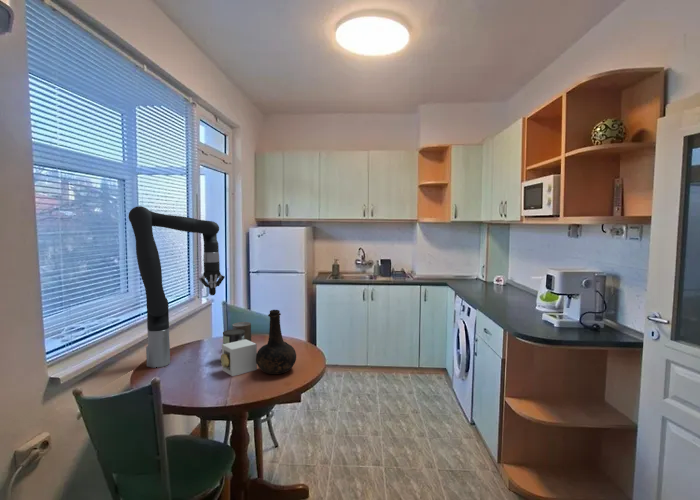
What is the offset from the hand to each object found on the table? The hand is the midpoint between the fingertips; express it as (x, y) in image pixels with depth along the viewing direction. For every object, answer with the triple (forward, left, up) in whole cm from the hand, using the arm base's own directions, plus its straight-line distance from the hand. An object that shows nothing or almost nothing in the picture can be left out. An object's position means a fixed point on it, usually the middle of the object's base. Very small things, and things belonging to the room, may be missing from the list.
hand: (212, 295), depth 195 cm
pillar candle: (+12, +10, -31) cm, 35 cm away
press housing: (+18, -21, -31) cm, 42 cm away
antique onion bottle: (+35, -23, -31) cm, 52 cm away
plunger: (+17, -22, -28) cm, 40 cm away
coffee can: (+12, -7, -31) cm, 34 cm away
